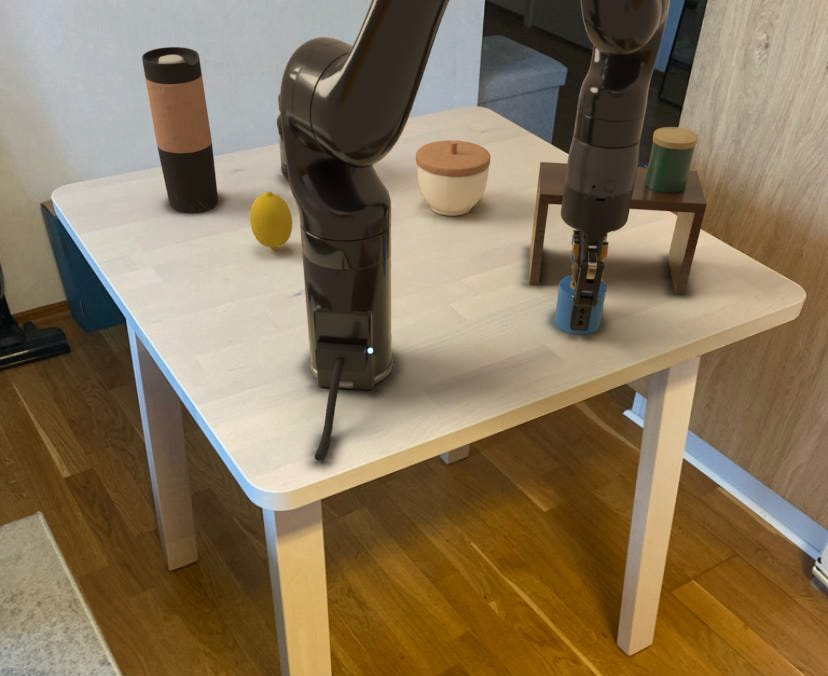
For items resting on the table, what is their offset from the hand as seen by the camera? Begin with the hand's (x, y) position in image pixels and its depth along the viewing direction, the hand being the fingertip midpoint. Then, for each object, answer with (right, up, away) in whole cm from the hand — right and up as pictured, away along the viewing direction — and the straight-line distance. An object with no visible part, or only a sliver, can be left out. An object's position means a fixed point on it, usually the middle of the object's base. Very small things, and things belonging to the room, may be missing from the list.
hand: (577, 315), depth 109 cm
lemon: (-39, +12, +13) cm, 43 cm away
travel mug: (-53, +23, +24) cm, 62 cm away
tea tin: (+11, +17, +1) cm, 20 cm away
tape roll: (0, -1, +1) cm, 1 cm away
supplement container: (-36, +30, +31) cm, 56 cm away
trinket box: (-15, +22, +24) cm, 36 cm away
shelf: (+5, +8, +10) cm, 14 cm away
